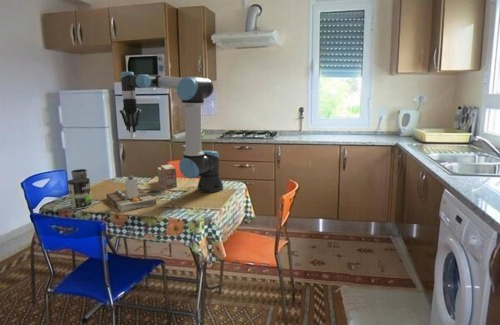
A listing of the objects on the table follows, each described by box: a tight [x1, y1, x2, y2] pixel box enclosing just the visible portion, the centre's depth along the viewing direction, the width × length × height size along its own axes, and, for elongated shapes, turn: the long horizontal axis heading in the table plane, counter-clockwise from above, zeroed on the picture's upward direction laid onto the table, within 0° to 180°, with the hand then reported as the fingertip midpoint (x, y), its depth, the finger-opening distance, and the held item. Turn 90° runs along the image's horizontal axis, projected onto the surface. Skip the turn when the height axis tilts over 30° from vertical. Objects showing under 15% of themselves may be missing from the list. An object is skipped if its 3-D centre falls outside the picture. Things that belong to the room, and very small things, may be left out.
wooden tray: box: [106, 187, 157, 212], centre depth 197 cm, size 28×18×4 cm, turn 35°
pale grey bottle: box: [125, 175, 139, 199], centre depth 193 cm, size 3×5×12 cm, turn 125°
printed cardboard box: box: [156, 164, 178, 189], centre depth 231 cm, size 21×6×12 cm, turn 28°
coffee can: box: [67, 177, 93, 210], centre depth 191 cm, size 10×10×14 cm
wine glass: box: [70, 168, 88, 179], centre depth 210 cm, size 8×8×15 cm
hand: (133, 137), depth 224 cm, fingers closed
